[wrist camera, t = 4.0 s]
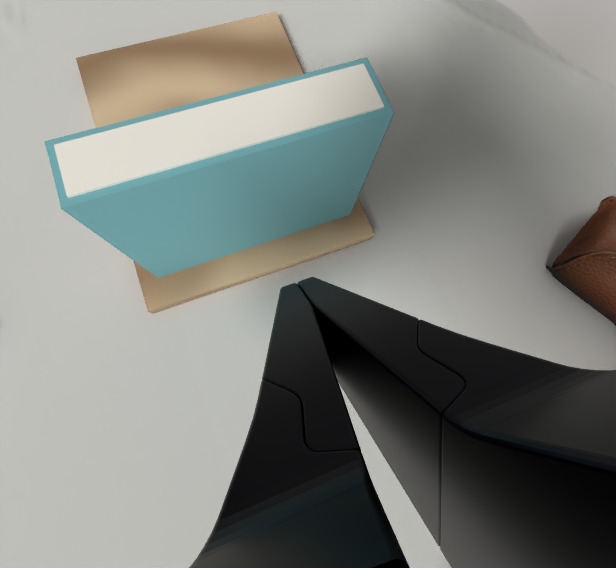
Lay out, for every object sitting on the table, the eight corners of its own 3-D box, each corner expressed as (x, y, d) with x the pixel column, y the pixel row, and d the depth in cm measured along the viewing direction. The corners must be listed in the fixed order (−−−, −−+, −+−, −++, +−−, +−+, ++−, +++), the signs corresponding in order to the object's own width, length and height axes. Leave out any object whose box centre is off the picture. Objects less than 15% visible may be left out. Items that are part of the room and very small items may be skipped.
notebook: (349, 215, 22) (394, 110, 13) (156, 278, 20) (56, 208, 11) (334, 179, 22) (367, 55, 13) (144, 238, 21) (39, 140, 12)
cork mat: (371, 238, 22) (374, 233, 22) (153, 313, 20) (147, 311, 20) (276, 22, 26) (276, 11, 25) (82, 68, 24) (75, 57, 23)
